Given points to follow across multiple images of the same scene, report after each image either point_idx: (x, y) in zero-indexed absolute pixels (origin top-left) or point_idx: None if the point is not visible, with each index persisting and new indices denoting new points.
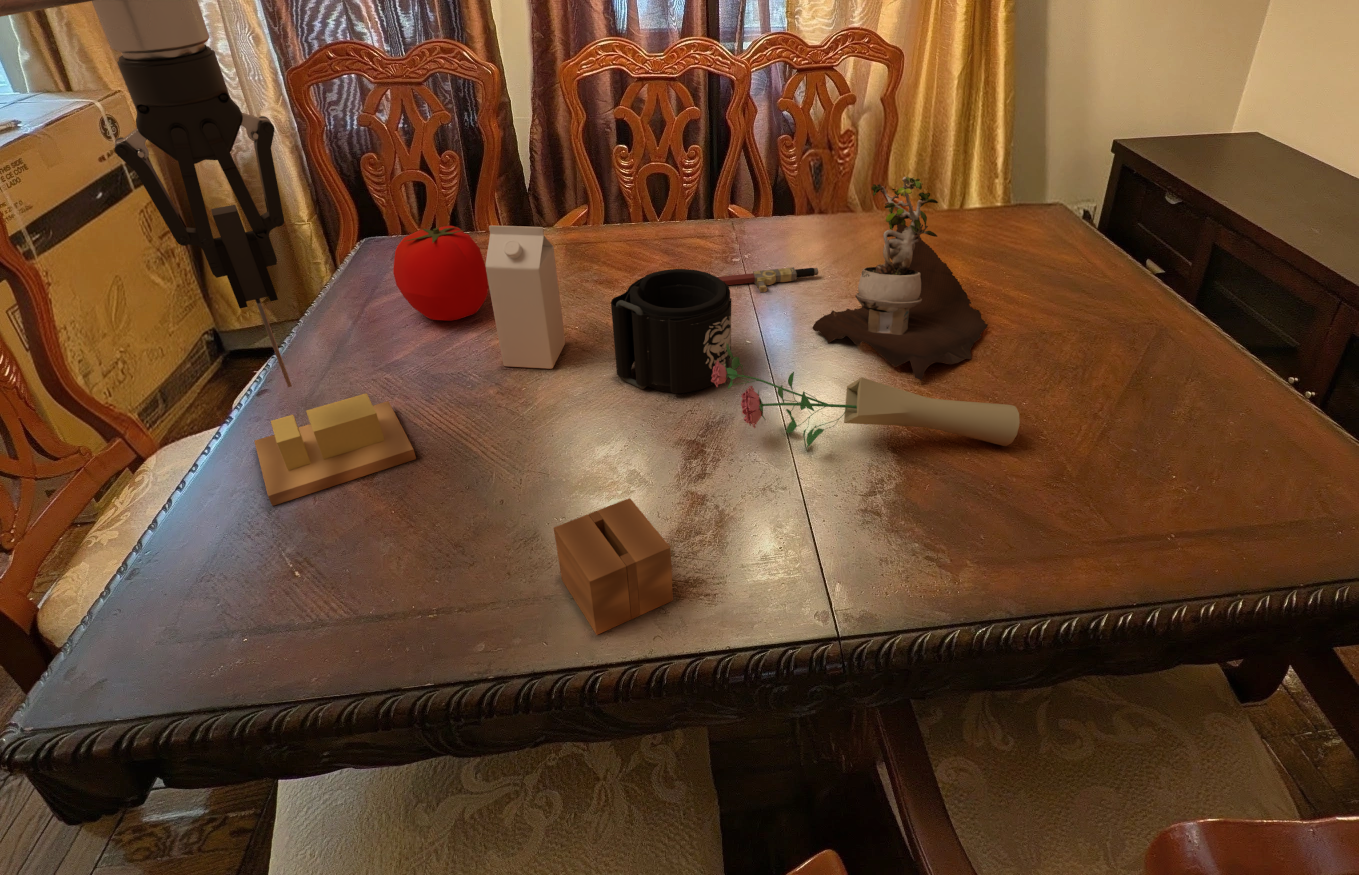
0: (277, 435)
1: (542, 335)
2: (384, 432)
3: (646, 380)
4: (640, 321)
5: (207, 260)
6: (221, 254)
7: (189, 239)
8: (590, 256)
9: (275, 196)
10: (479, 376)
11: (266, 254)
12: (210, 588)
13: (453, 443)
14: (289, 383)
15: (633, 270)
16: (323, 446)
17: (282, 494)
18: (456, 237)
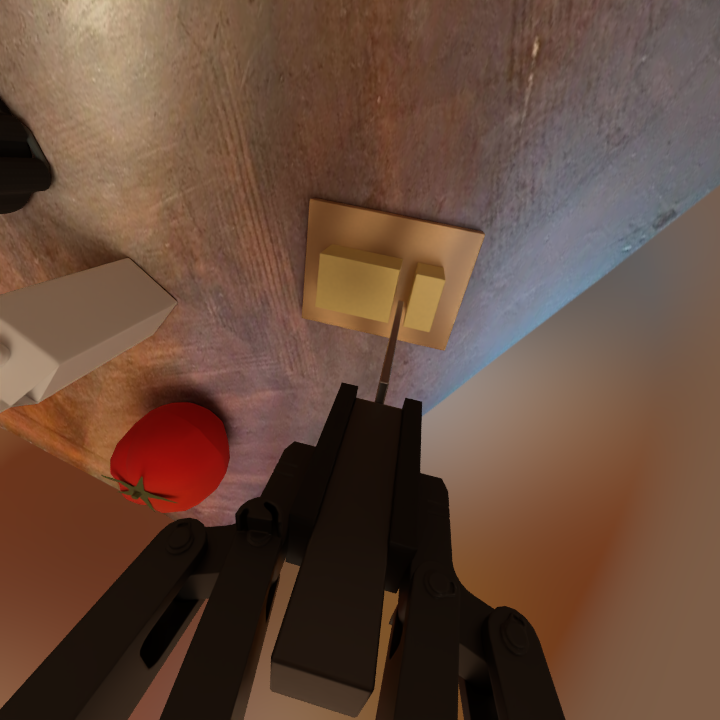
0: (437, 295)
1: (94, 274)
2: None
3: (4, 116)
4: None
5: (449, 528)
6: (410, 521)
7: (492, 625)
8: (62, 416)
9: (73, 652)
10: (206, 304)
11: (297, 470)
12: (627, 109)
13: (267, 196)
14: (399, 302)
15: None
16: (396, 262)
17: (469, 230)
18: (120, 474)
